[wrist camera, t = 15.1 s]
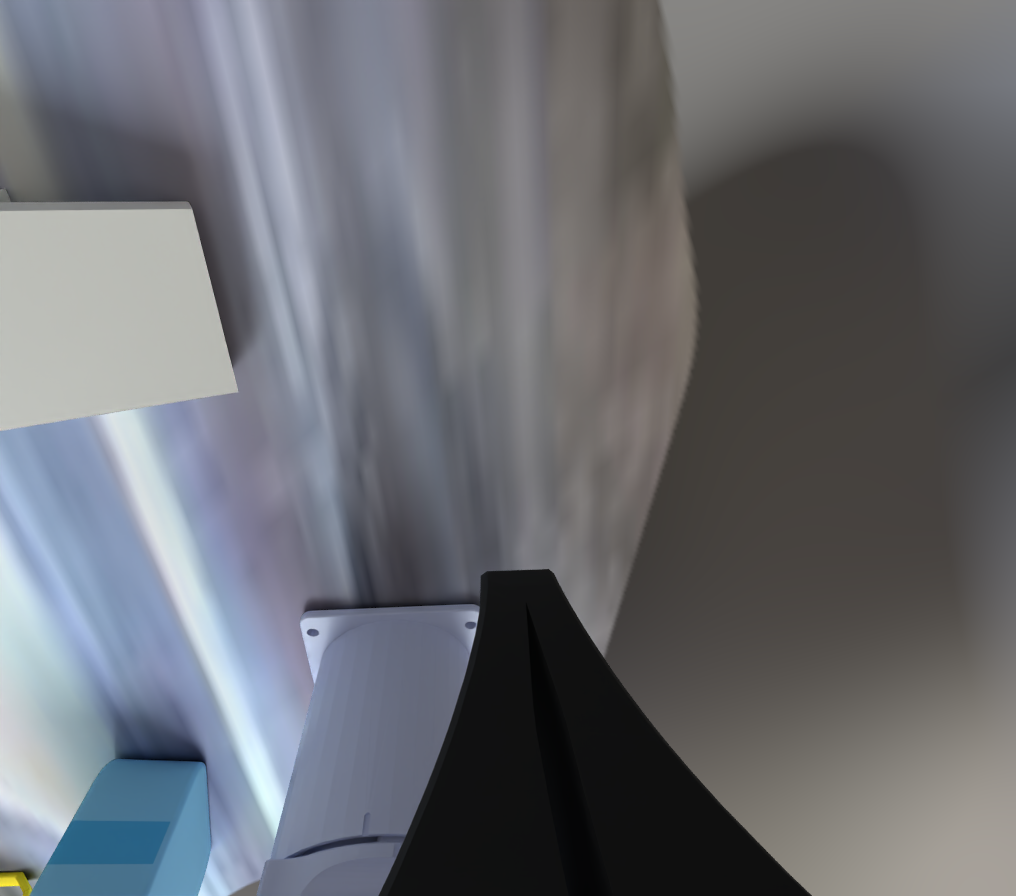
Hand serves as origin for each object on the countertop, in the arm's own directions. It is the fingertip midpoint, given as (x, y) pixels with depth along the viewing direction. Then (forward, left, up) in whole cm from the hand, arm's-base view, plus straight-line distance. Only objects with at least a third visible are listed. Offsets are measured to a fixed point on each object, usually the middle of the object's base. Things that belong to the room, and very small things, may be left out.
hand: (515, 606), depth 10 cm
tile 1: (+4, +8, -8) cm, 12 cm away
